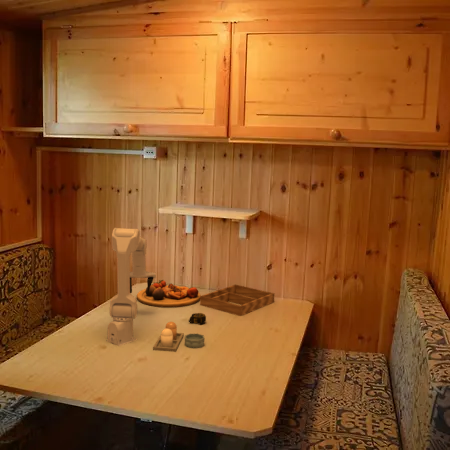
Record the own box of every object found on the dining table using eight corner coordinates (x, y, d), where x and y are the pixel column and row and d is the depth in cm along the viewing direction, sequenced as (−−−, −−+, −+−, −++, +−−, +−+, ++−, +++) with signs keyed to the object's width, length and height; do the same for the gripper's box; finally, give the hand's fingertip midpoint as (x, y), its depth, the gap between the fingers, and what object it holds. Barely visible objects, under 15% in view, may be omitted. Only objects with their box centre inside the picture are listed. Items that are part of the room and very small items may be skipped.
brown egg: (171, 341, 203) (171, 324, 202) (162, 339, 206) (163, 322, 205) (178, 338, 206) (179, 321, 205) (170, 336, 209) (170, 319, 208)
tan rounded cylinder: (167, 349, 195) (167, 331, 194) (158, 346, 198) (158, 328, 197) (174, 346, 199) (175, 328, 198) (166, 343, 201) (166, 325, 200)
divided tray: (175, 352, 194) (175, 348, 194) (152, 351, 195) (152, 347, 194) (183, 337, 210) (183, 333, 210) (162, 335, 211) (162, 331, 210)
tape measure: (192, 319, 231) (192, 311, 231) (207, 321, 230) (207, 313, 229) (188, 325, 224) (188, 316, 224) (203, 326, 223) (204, 318, 223)
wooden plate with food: (212, 296, 268) (213, 281, 267) (176, 312, 241) (176, 295, 239) (162, 286, 284) (163, 271, 283) (123, 300, 257) (123, 284, 255)
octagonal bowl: (195, 351, 196) (195, 342, 196) (180, 346, 201) (180, 337, 200) (208, 345, 202) (208, 336, 202) (193, 340, 207) (193, 332, 206)
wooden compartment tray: (240, 316, 238) (241, 306, 237) (200, 305, 252) (200, 296, 251) (274, 302, 261) (274, 293, 260) (235, 292, 275) (235, 284, 274)
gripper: (156, 260, 233) (156, 288, 237) (123, 260, 232) (124, 288, 236) (155, 266, 226) (155, 295, 230) (121, 266, 225) (122, 295, 230)
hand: (139, 292), depth 233 cm, fingers open, 7 cm apart
